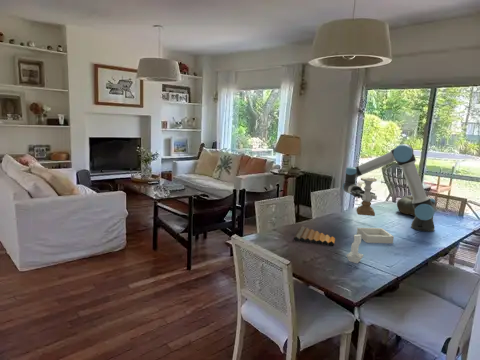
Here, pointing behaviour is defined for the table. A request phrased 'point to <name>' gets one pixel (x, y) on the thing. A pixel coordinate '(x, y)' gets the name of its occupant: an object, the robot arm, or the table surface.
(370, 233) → the rimmed tray
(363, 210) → the candle holder
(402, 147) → the robot arm
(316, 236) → the pan flute
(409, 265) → the table surface
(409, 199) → the gourd
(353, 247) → the figurine
